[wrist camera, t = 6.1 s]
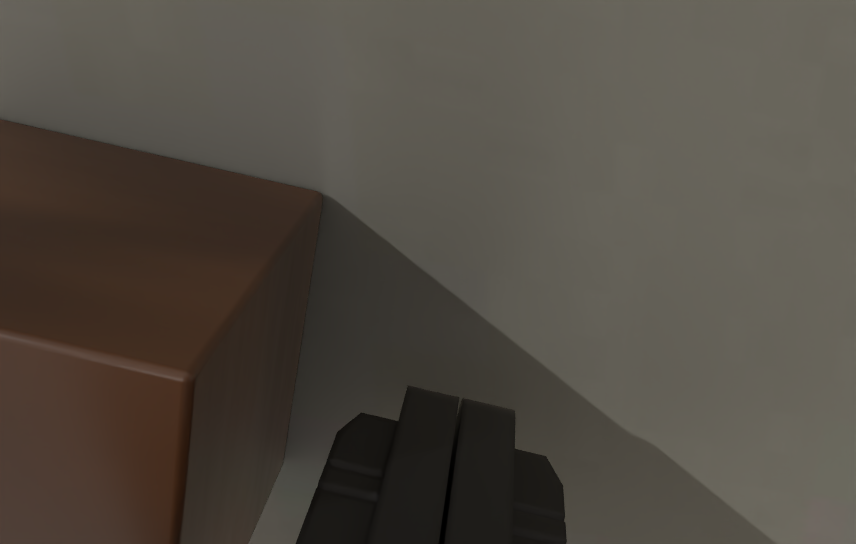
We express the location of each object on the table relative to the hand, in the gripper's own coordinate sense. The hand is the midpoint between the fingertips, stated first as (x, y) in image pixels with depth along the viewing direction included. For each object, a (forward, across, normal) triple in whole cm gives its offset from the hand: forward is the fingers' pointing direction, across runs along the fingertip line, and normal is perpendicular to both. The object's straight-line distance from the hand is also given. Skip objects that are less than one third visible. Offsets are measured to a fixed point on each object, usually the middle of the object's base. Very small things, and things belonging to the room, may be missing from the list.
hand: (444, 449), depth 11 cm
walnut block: (+2, +5, 0) cm, 5 cm away
